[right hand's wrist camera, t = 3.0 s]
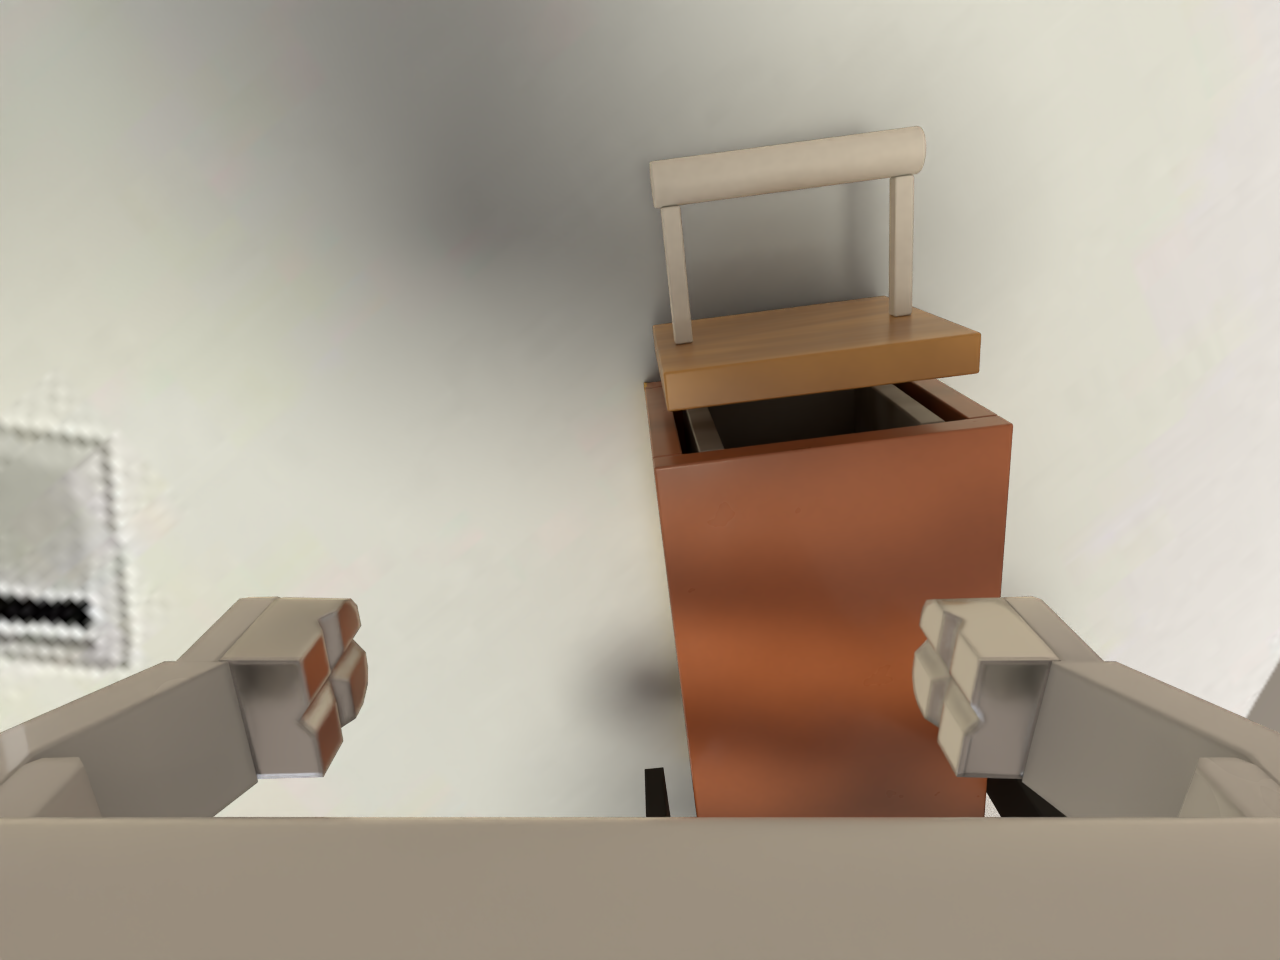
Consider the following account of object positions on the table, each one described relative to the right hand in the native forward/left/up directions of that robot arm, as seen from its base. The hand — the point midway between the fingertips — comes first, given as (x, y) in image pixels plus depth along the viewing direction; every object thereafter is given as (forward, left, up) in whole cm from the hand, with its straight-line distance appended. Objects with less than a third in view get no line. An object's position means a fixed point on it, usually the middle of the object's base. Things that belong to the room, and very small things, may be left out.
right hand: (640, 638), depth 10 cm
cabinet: (+13, +1, -21) cm, 24 cm away
